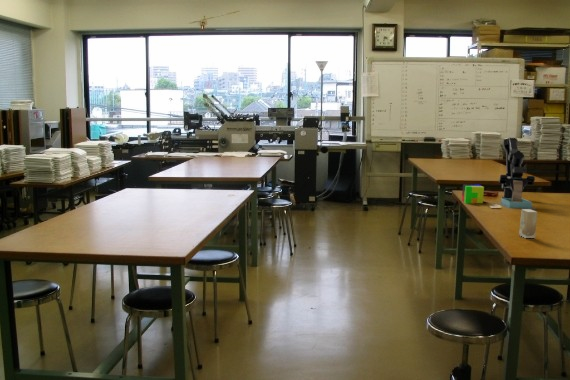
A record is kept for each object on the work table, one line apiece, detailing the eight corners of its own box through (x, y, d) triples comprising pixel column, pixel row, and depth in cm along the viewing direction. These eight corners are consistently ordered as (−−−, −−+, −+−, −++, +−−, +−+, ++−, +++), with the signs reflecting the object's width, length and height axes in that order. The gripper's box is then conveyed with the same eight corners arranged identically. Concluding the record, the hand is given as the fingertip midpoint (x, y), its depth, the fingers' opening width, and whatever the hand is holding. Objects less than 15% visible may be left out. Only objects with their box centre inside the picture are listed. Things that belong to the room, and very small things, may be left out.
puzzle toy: (478, 201, 342) (479, 184, 340) (482, 204, 332) (483, 187, 330) (461, 200, 343) (462, 184, 341) (465, 203, 333) (466, 186, 331)
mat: (496, 203, 333) (496, 202, 333) (523, 204, 333) (523, 203, 333) (508, 209, 315) (508, 208, 315) (536, 209, 315) (536, 208, 315)
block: (511, 201, 327) (513, 180, 325) (519, 201, 326) (521, 180, 324) (512, 202, 322) (514, 181, 320) (521, 203, 321) (522, 181, 319)
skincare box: (518, 236, 249) (520, 208, 247) (527, 235, 250) (530, 208, 248) (525, 239, 243) (528, 211, 241) (535, 239, 243) (537, 211, 241)
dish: (500, 203, 330) (501, 198, 330) (522, 204, 330) (522, 198, 330) (509, 207, 318) (509, 201, 318) (531, 207, 318) (532, 202, 318)
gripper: (501, 160, 326) (502, 182, 318) (535, 162, 322) (537, 183, 313) (498, 172, 335) (499, 193, 326) (532, 174, 331) (534, 195, 322)
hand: (517, 191), depth 322 cm, fingers closed on block, 4 cm apart
